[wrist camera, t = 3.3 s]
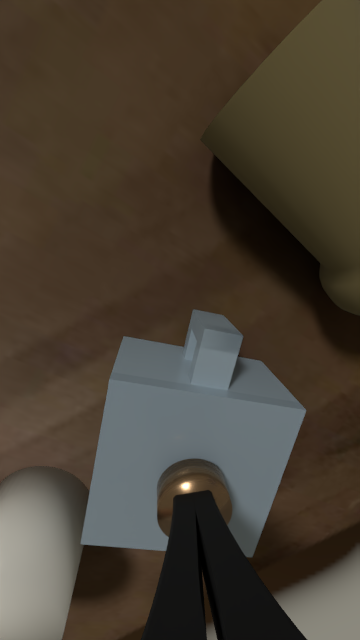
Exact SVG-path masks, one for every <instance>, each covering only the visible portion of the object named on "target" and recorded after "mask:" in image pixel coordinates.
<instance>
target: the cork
mask: <svg viewBox="0 0 360 640" xmlns="http://www.w3.org/2000/svg"><path fill="white" fill-rule="evenodd" d="M200 140H201V141H202V142H203V143H204V144H205V145H206V146H207V147H208V148H209V149H210V150H211V151H212V152H213V153H214V155H215V156H216V157H217V158H218V159H219V160H220V161H221V162H222V163H223V164H224V165H225V166H226V167H227V168H228V169H229V170H230V171H231V172H232V173H233V174H234V175H235V176H236V177H237V178H238V179H239V180H240V181H241V182H242V183H243V184H244V185H245V186H246V187H247V188H248V189H249V190H250V191H251V192H252V194H253V195H254V196H255V197H256V198H257V199H258V200H259V201H260V202H261V203H262V204H263V205H264V206H265V207H266V208H267V209H268V210H269V211H270V212H271V213H272V214H273V215H274V216H275V217H276V218H277V219H278V220H279V221H280V222H281V223H282V224H283V225H284V226H285V227H286V228H287V229H288V230H289V231H290V232H291V234H292V235H293V236H294V237H295V238H296V239H297V240H298V241H299V242H300V243H301V244H302V245H303V246H304V247H305V248H306V249H307V250H308V251H309V252H310V253H311V254H312V255H313V256H314V257H315V258H316V259H317V260H318V261H319V262H320V270H319V275H320V281H321V284H322V287H323V289H324V291H325V292H326V293H327V295H328V296H329V298H330V299H331V300H332V301H333V302H334V304H336V305H337V306H338V307H340V308H341V309H342V310H344V311H347V312H350V313H352V314H355V315H358V316H360V1H359V0H322V1H321V2H320V3H319V4H318V5H317V6H316V7H315V8H314V9H313V10H312V11H311V12H310V13H309V14H308V15H307V16H306V17H305V18H304V19H303V20H302V21H301V22H300V23H299V24H298V25H297V26H296V27H295V28H294V29H293V30H292V31H291V33H290V34H289V35H288V36H287V37H286V38H285V39H284V40H283V41H282V42H281V43H280V44H279V45H278V46H277V48H276V49H275V50H274V51H273V52H272V53H271V54H270V55H269V56H268V57H267V58H266V59H265V60H264V61H263V63H262V64H261V65H260V66H259V67H258V68H257V69H256V70H255V72H254V73H253V74H252V75H251V76H250V77H249V78H248V80H247V81H246V82H245V83H244V84H243V85H242V86H241V87H240V89H239V90H238V91H237V92H236V93H235V94H234V96H233V97H232V98H231V99H230V100H229V102H228V103H227V104H226V105H225V106H224V108H223V109H222V110H221V111H220V112H219V113H218V115H217V116H216V117H215V119H214V120H213V121H212V123H211V124H210V125H209V126H208V128H207V129H206V130H205V132H204V134H203V135H202V137H201V139H200Z"/></svg>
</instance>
